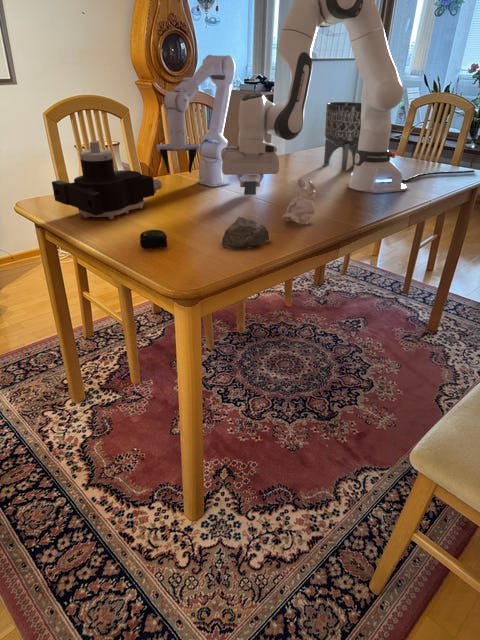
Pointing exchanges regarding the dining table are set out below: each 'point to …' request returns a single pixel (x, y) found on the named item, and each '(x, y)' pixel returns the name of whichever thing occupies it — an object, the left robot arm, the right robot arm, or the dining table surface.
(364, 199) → the dining table surface
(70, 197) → the mechanical component
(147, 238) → the tape measure
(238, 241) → the rock
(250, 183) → the brick
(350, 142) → the planter
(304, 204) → the figurine
